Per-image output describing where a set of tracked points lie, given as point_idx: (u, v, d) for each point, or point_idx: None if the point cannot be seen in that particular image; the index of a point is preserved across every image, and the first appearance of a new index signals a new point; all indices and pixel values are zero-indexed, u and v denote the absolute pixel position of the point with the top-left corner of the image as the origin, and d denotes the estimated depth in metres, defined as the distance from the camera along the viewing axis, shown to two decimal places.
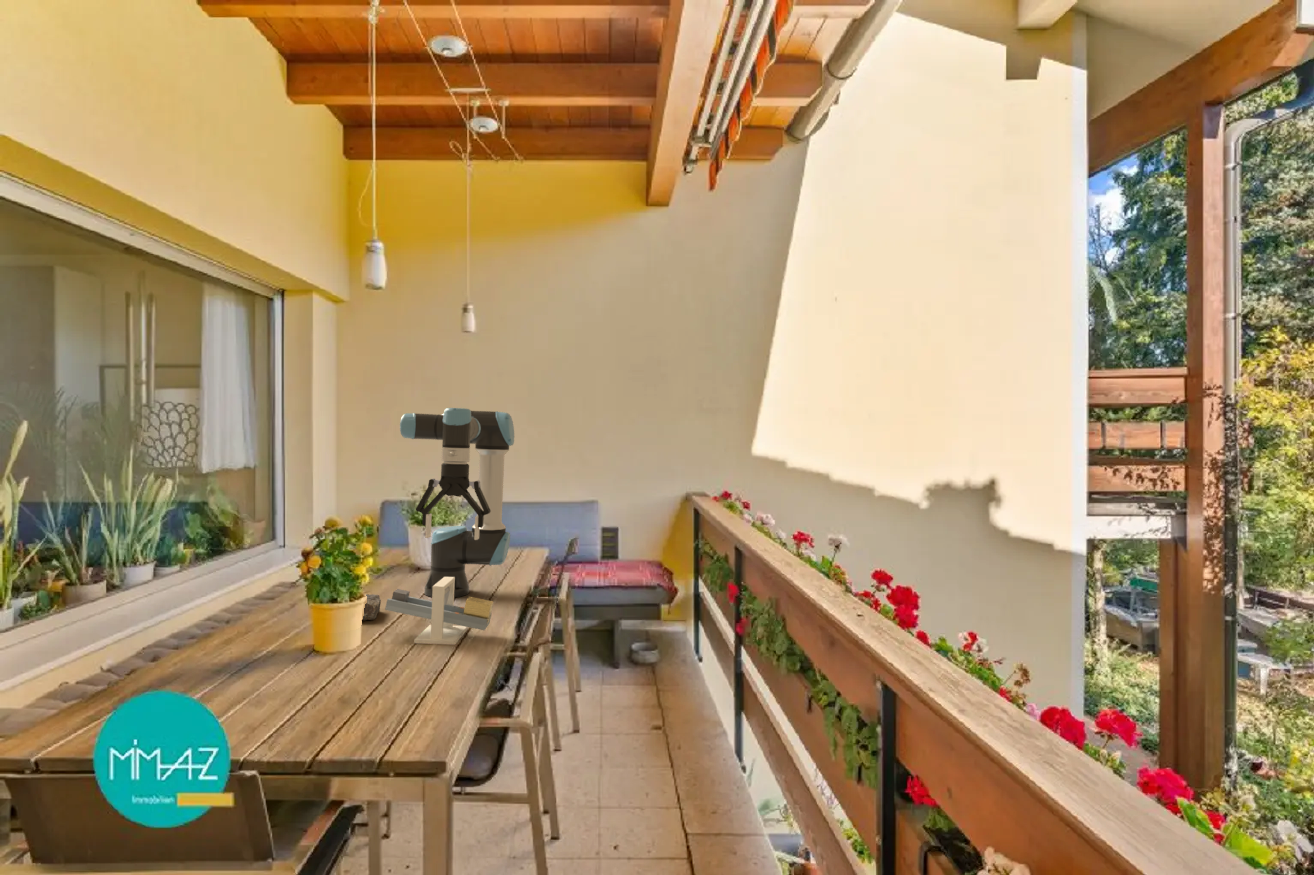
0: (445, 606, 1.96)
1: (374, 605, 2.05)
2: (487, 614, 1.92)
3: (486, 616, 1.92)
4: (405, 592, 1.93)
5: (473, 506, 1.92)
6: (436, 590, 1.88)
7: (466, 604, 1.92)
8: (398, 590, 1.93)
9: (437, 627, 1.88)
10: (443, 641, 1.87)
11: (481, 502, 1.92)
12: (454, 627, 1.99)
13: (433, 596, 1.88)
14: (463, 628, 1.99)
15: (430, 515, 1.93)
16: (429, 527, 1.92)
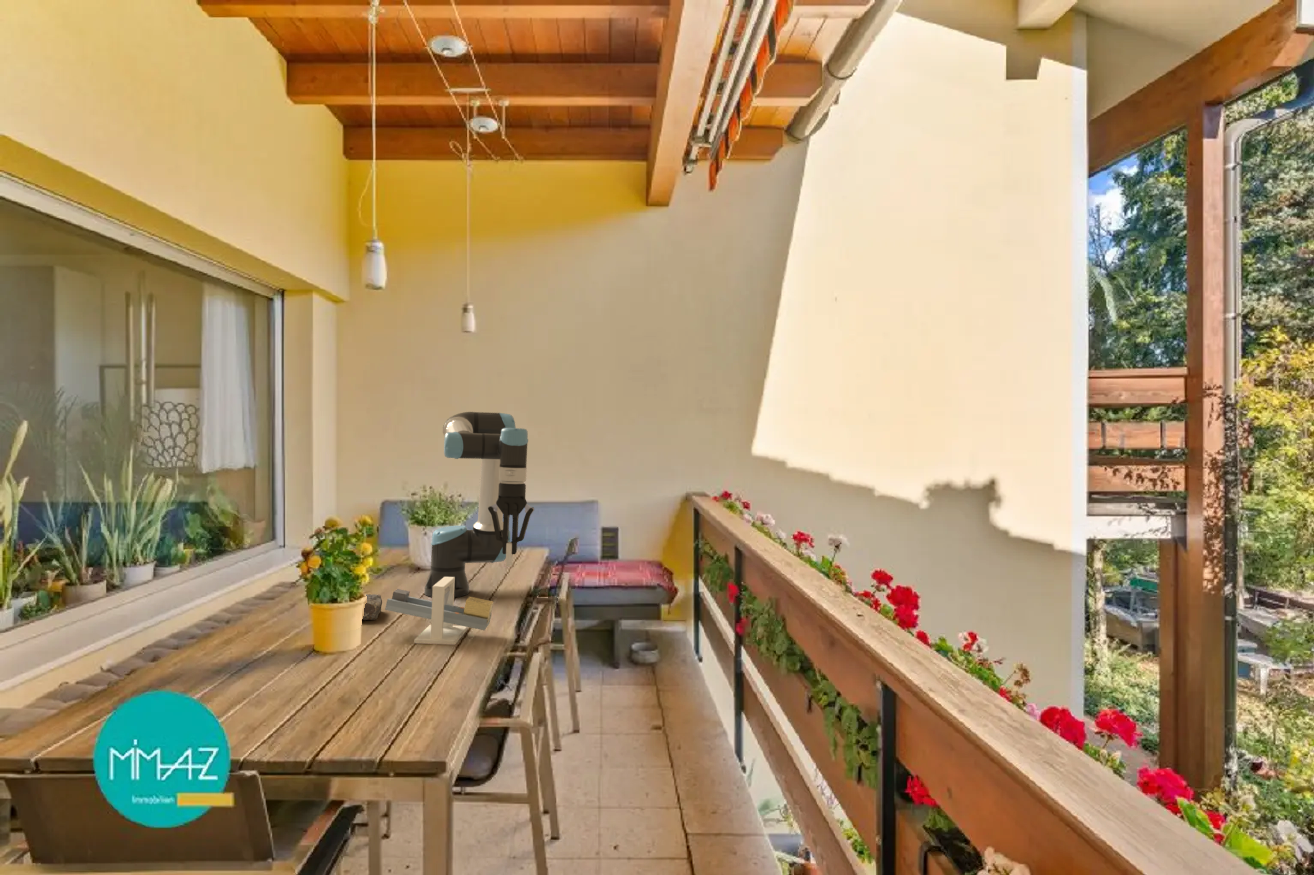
0: (445, 606, 1.96)
1: (375, 605, 2.05)
2: (487, 614, 1.92)
3: (486, 616, 1.92)
4: (405, 592, 1.93)
5: (513, 530, 1.93)
6: (436, 590, 1.88)
7: (466, 604, 1.92)
8: (398, 590, 1.93)
9: (437, 627, 1.88)
10: (443, 641, 1.87)
11: (522, 528, 1.93)
12: (454, 627, 1.99)
13: (433, 596, 1.88)
14: (463, 628, 1.99)
15: None
16: None
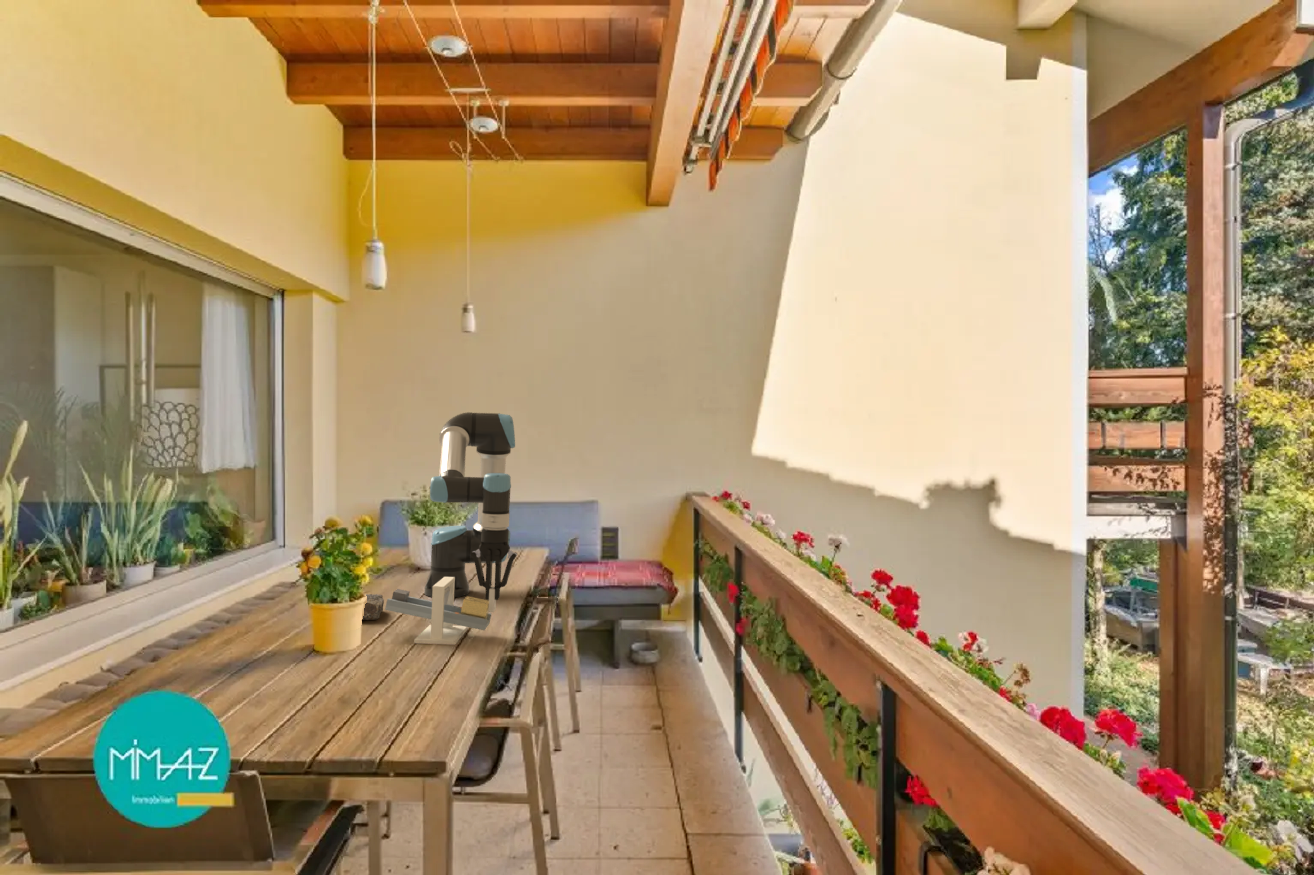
0: (445, 606, 1.96)
1: (377, 605, 2.05)
2: (484, 614, 1.92)
3: (483, 616, 1.92)
4: (405, 592, 1.93)
5: (496, 576, 1.93)
6: (436, 590, 1.88)
7: (463, 604, 1.92)
8: (398, 590, 1.93)
9: (437, 627, 1.88)
10: (443, 641, 1.87)
11: (505, 574, 1.93)
12: (454, 627, 1.99)
13: (433, 596, 1.88)
14: (463, 628, 1.99)
15: None
16: None
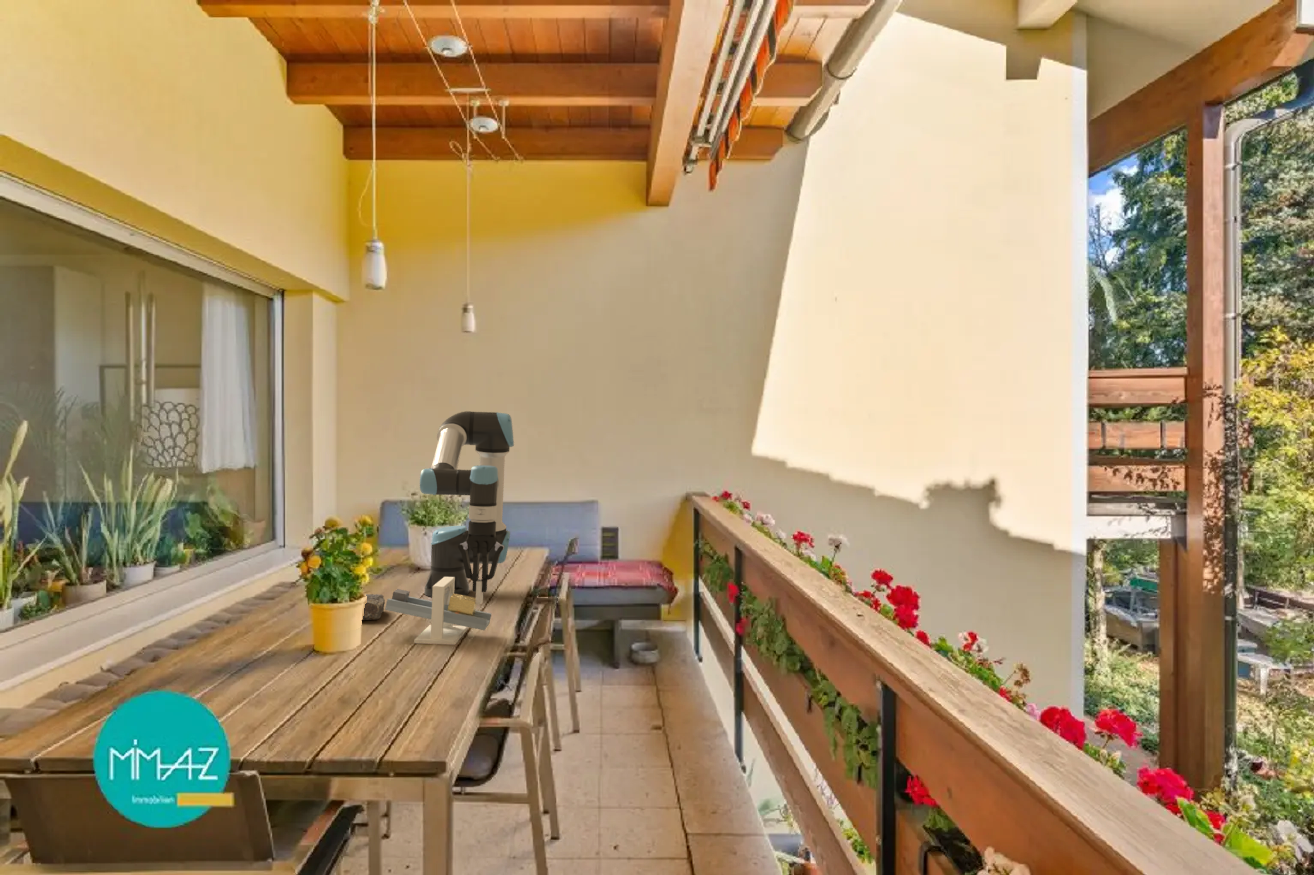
0: (445, 606, 1.96)
1: (378, 605, 2.05)
2: (471, 611, 1.92)
3: (470, 613, 1.92)
4: (405, 592, 1.93)
5: (483, 569, 1.93)
6: (436, 590, 1.88)
7: (450, 601, 1.92)
8: (398, 590, 1.93)
9: (437, 627, 1.88)
10: (443, 641, 1.87)
11: (492, 566, 1.93)
12: (454, 627, 1.99)
13: (433, 596, 1.88)
14: (463, 628, 1.99)
15: None
16: None
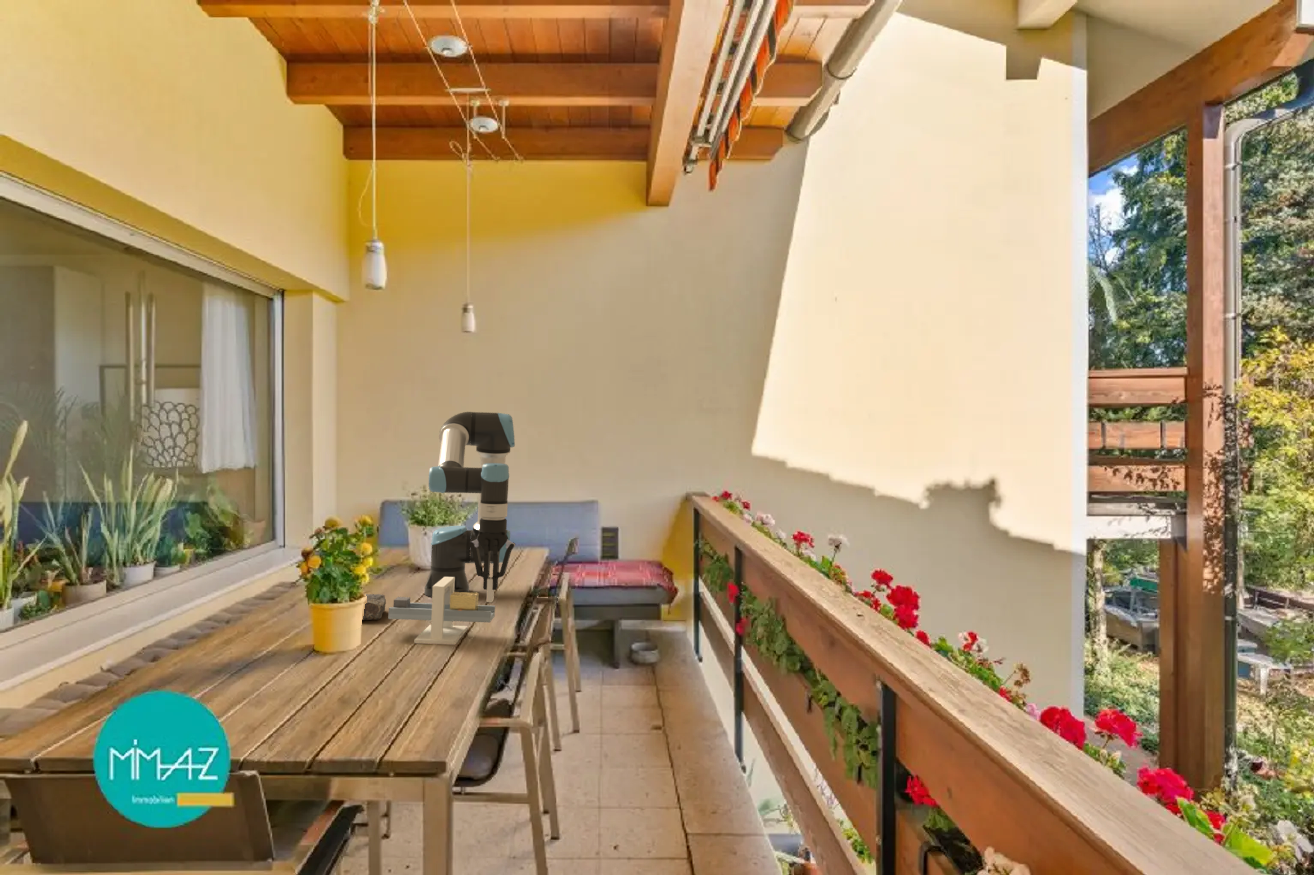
0: (448, 606, 1.96)
1: (379, 605, 2.05)
2: (473, 606, 1.92)
3: (473, 608, 1.92)
4: (406, 598, 1.93)
5: (494, 566, 1.93)
6: (436, 590, 1.88)
7: (451, 599, 1.92)
8: (398, 598, 1.93)
9: (437, 627, 1.88)
10: (443, 641, 1.87)
11: (503, 564, 1.93)
12: (454, 627, 1.99)
13: (433, 596, 1.88)
14: (463, 628, 1.99)
15: None
16: None
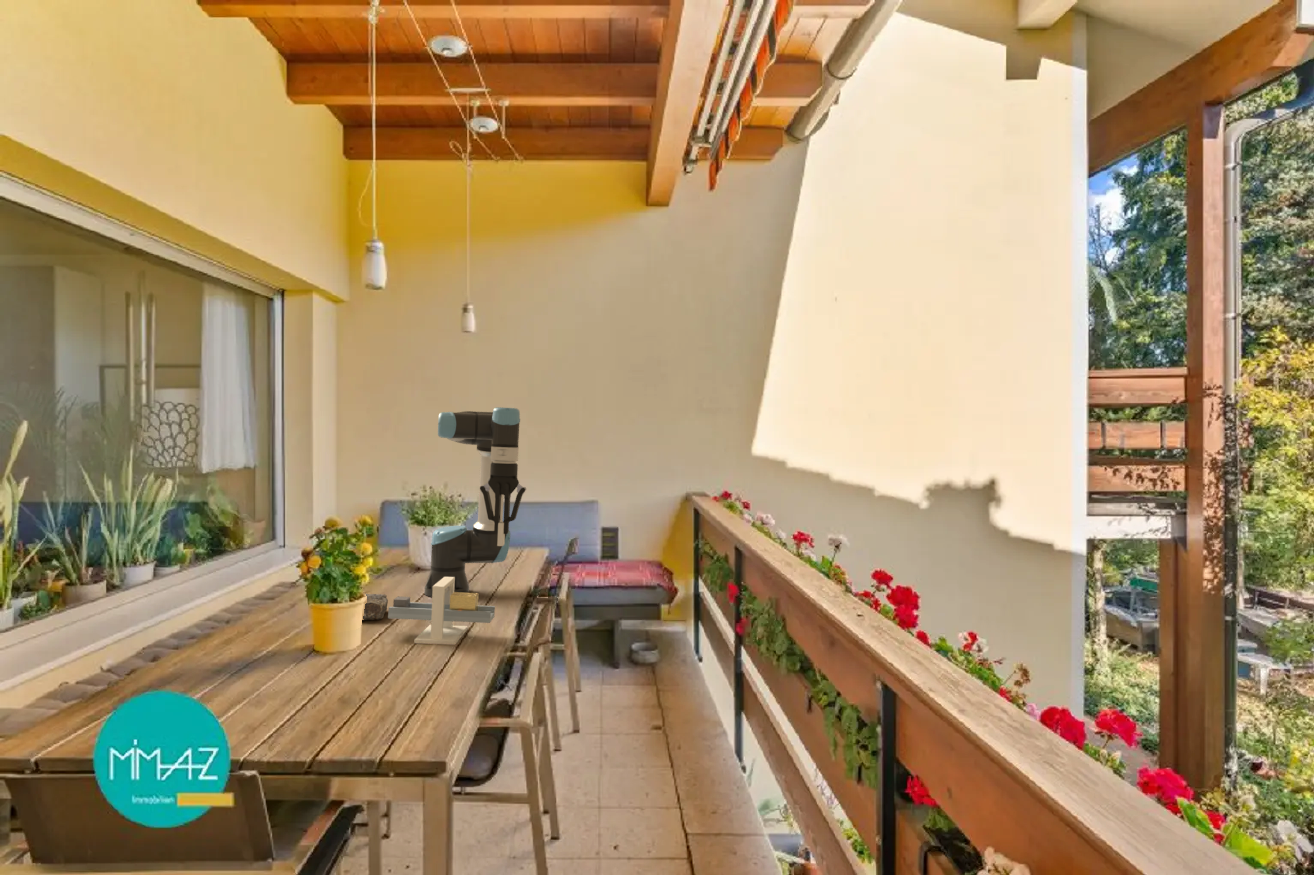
0: (448, 606, 1.96)
1: (381, 605, 2.06)
2: (473, 606, 1.92)
3: (473, 608, 1.92)
4: (406, 598, 1.93)
5: (505, 510, 1.93)
6: (436, 590, 1.88)
7: (451, 599, 1.92)
8: (398, 598, 1.93)
9: (437, 627, 1.88)
10: (443, 641, 1.87)
11: (514, 507, 1.93)
12: (454, 627, 1.99)
13: (433, 596, 1.88)
14: (463, 628, 1.99)
15: None
16: None
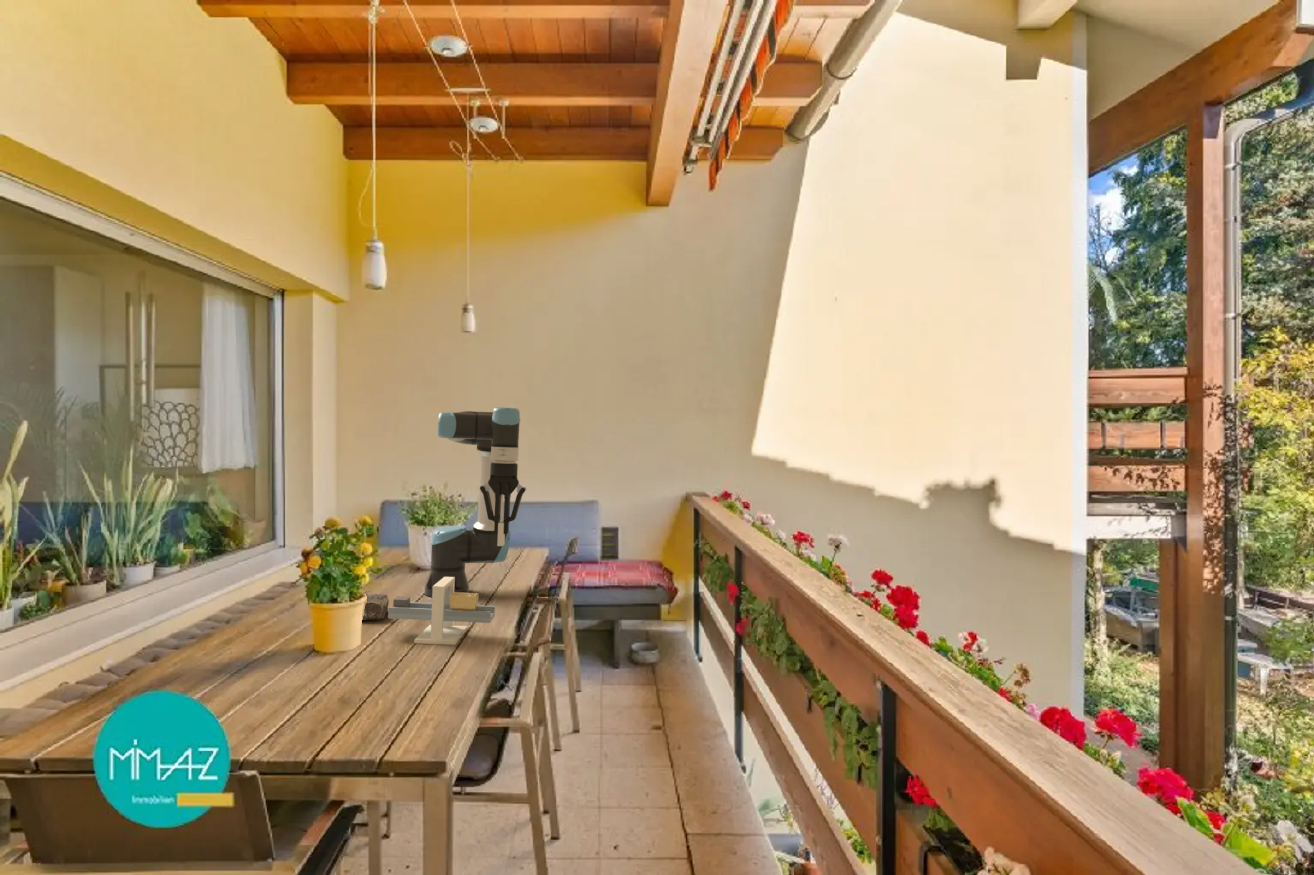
0: (448, 606, 1.96)
1: (382, 605, 2.06)
2: (473, 606, 1.92)
3: (473, 608, 1.92)
4: (406, 598, 1.93)
5: (505, 510, 1.93)
6: (436, 590, 1.88)
7: (451, 599, 1.92)
8: (398, 598, 1.93)
9: (437, 627, 1.88)
10: (443, 641, 1.87)
11: (514, 507, 1.93)
12: (454, 627, 1.99)
13: (433, 596, 1.88)
14: (463, 628, 1.99)
15: None
16: None
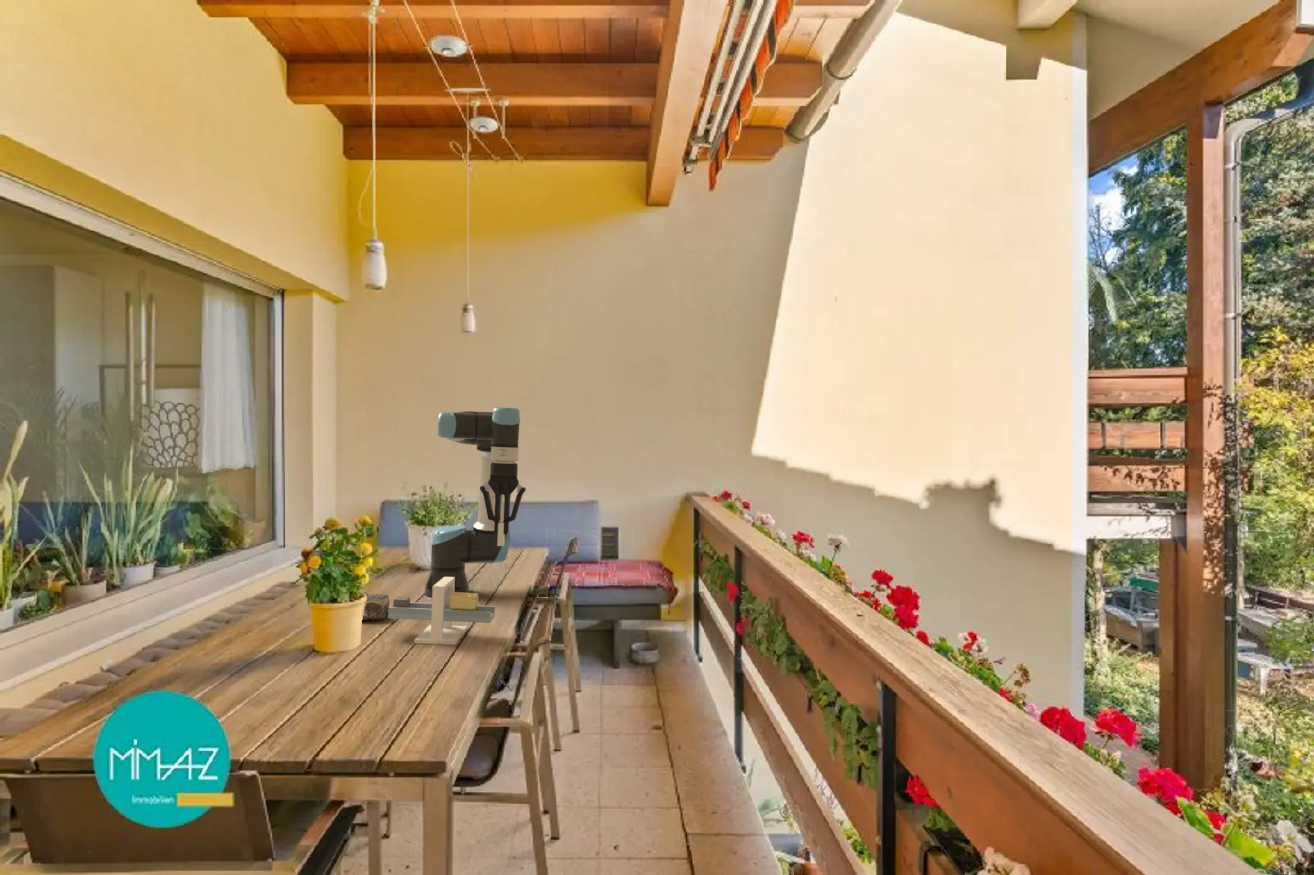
0: (448, 606, 1.96)
1: (383, 605, 2.06)
2: (473, 606, 1.92)
3: (473, 608, 1.92)
4: (406, 598, 1.93)
5: (505, 510, 1.93)
6: (436, 590, 1.88)
7: (451, 599, 1.92)
8: (398, 598, 1.93)
9: (437, 627, 1.88)
10: (443, 641, 1.87)
11: (514, 507, 1.93)
12: (454, 627, 1.99)
13: (433, 596, 1.88)
14: (463, 628, 1.99)
15: None
16: None
